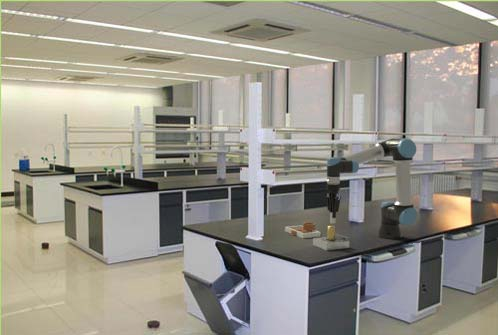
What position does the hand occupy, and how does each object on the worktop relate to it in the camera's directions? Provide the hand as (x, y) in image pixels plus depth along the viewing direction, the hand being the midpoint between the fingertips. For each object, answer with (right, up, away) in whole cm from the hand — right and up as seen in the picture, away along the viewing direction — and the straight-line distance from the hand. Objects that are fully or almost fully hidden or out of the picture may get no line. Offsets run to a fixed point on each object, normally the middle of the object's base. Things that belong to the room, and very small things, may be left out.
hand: (332, 223), depth 262 cm
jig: (-1, -14, 0) cm, 14 cm away
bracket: (-14, -12, +34) cm, 39 cm away
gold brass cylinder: (-1, -14, 0) cm, 14 cm away
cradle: (-14, -11, +34) cm, 38 cm away
